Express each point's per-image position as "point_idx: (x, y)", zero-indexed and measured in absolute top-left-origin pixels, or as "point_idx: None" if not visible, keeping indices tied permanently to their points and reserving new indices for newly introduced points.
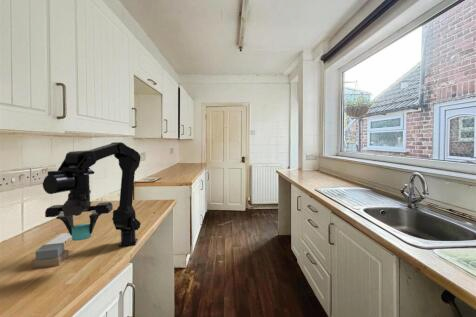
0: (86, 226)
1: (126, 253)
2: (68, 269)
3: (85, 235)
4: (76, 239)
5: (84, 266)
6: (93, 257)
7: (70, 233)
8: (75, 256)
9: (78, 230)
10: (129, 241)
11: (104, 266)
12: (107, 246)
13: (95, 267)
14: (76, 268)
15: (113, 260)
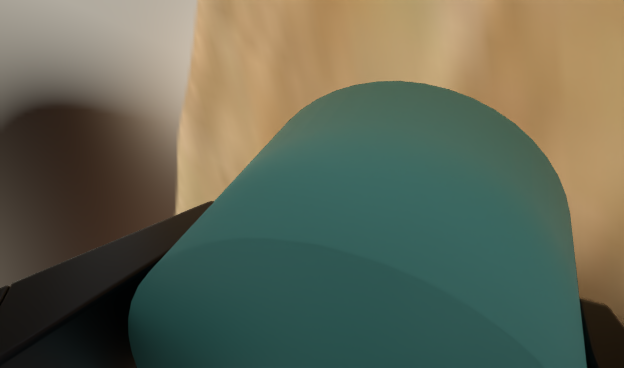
0: (170, 310)
1: (188, 186)
2: (598, 77)
3: (278, 141)
4: (463, 106)
5: (453, 84)
6: None
7: (613, 333)
8: None
9: (355, 201)
10: None
11: (282, 10)
12: None
13: (353, 20)
14: (522, 69)
15: (242, 104)
